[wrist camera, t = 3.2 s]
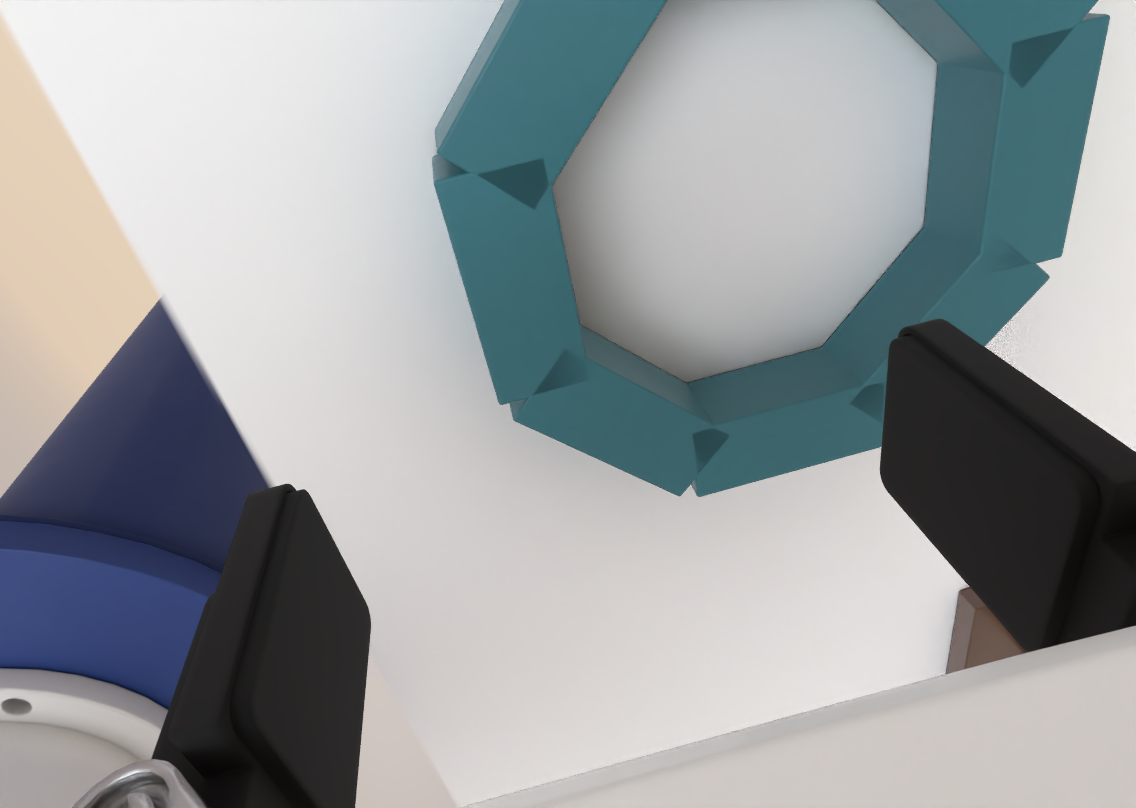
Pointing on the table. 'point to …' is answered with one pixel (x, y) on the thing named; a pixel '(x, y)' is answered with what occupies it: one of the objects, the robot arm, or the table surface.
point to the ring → (861, 343)
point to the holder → (978, 635)
